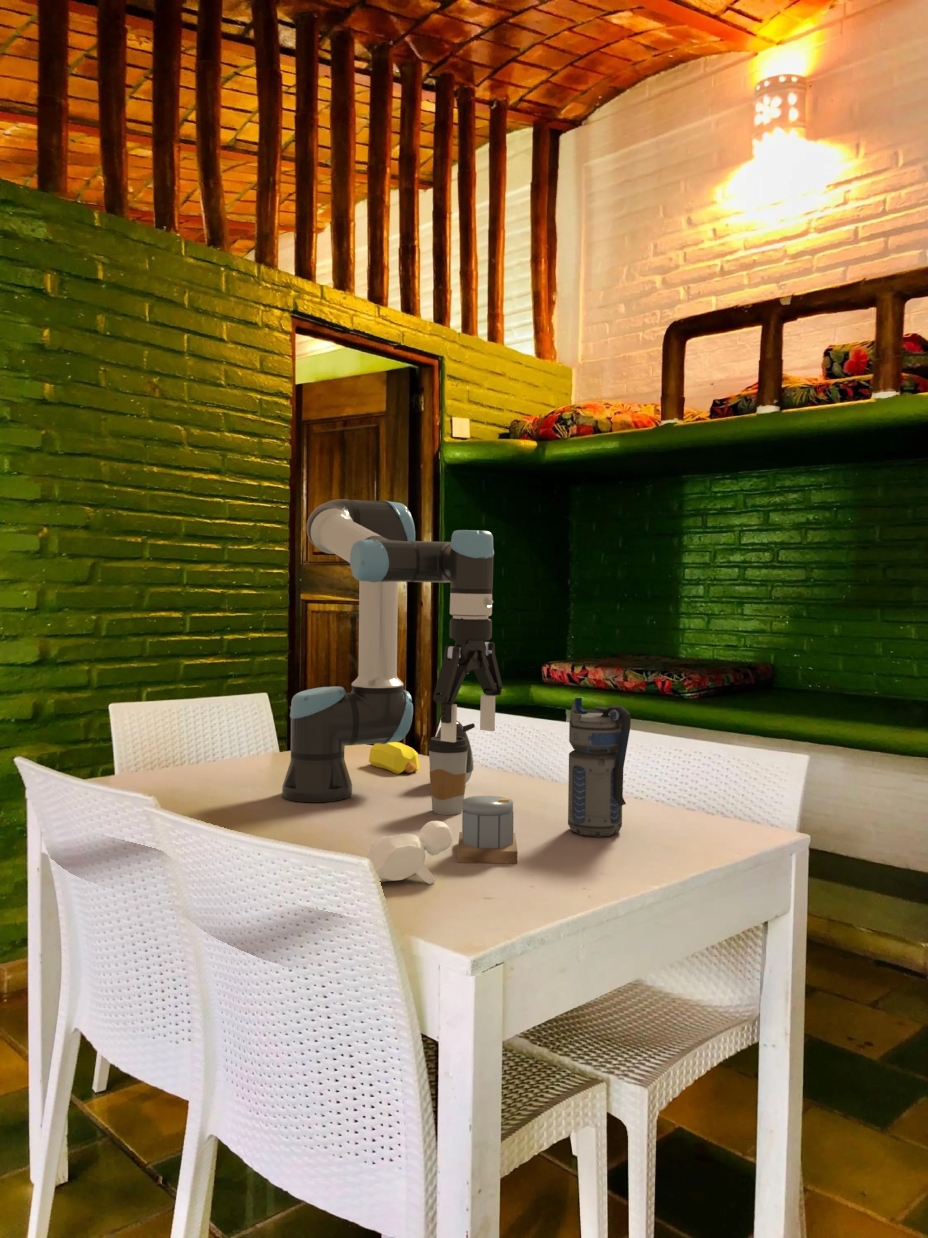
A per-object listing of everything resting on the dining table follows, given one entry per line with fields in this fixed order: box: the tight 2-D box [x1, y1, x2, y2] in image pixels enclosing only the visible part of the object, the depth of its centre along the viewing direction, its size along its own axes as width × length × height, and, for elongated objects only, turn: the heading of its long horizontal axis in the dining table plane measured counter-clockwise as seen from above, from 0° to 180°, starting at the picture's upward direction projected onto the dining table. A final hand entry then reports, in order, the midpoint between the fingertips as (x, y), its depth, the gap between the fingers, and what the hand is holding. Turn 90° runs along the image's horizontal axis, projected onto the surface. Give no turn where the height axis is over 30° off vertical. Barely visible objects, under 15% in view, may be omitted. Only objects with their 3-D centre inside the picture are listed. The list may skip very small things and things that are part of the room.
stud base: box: [457, 831, 518, 864], centre depth 168 cm, size 10×12×7 cm
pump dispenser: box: [435, 720, 476, 785], centre depth 223 cm, size 10×10×15 cm
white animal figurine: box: [365, 820, 453, 885], centre depth 153 cm, size 9×8×15 cm
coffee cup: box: [427, 736, 469, 816], centre depth 198 cm, size 8×8×15 cm
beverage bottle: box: [567, 697, 632, 837], centre depth 182 cm, size 10×13×25 cm
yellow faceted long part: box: [368, 741, 420, 775], centre depth 242 cm, size 18×7×8 cm
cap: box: [461, 795, 514, 848], centre depth 167 cm, size 9×9×7 cm
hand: (468, 735), depth 173 cm, fingers open, 13 cm apart
